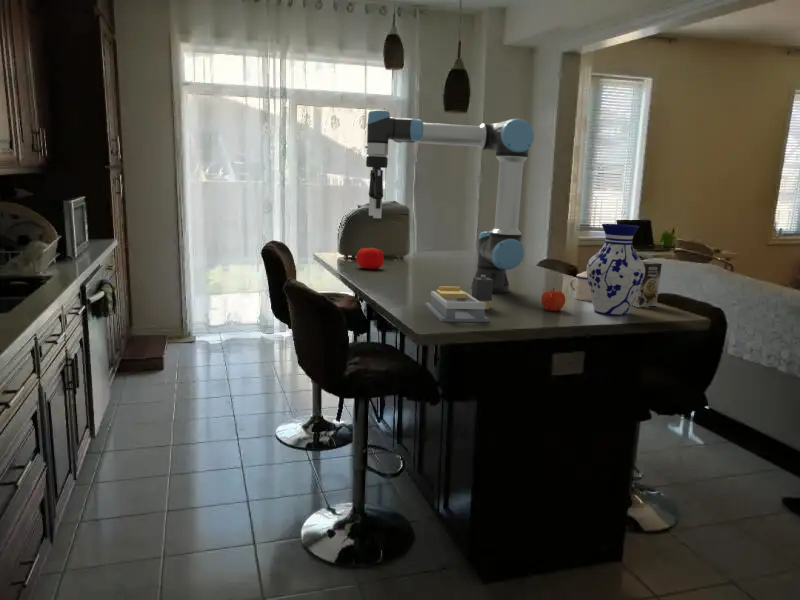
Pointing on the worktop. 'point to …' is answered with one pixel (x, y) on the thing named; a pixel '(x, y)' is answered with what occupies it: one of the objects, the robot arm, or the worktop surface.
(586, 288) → the teacup with lid
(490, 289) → the plug
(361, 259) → the tomato
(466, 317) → the socket
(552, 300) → the apple
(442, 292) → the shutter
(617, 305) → the vase
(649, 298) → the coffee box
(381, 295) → the worktop surface
